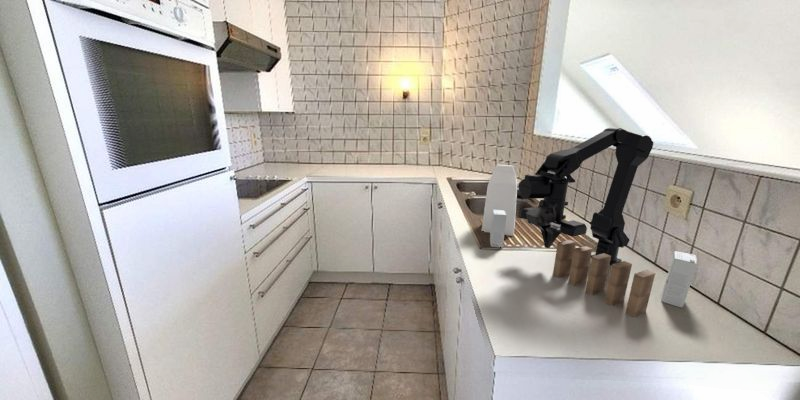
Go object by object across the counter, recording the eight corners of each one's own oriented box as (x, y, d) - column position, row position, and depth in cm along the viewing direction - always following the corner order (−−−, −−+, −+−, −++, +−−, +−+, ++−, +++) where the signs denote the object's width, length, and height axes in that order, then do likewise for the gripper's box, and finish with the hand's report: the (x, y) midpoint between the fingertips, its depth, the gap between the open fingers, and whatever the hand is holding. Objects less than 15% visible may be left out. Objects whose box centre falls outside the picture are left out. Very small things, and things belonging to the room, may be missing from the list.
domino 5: (637, 307, 76) (646, 269, 74) (645, 311, 75) (655, 272, 72) (625, 312, 74) (634, 273, 71) (633, 316, 72) (643, 277, 70)
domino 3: (597, 287, 85) (604, 253, 82) (604, 290, 83) (611, 255, 81) (585, 291, 83) (591, 256, 80) (591, 294, 81) (598, 259, 79)
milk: (481, 231, 125) (487, 166, 118) (485, 222, 135) (490, 162, 129) (513, 236, 121) (521, 168, 114) (514, 226, 131) (521, 164, 124)
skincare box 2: (661, 292, 83) (672, 249, 80) (684, 298, 80) (696, 254, 77) (660, 302, 78) (672, 257, 75) (684, 309, 76) (697, 263, 73)
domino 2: (580, 278, 89) (586, 246, 87) (586, 281, 88) (592, 248, 85) (568, 282, 87) (573, 249, 84) (574, 285, 85) (580, 251, 83)
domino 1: (564, 271, 94) (569, 239, 91) (569, 273, 92) (575, 241, 89) (552, 274, 91) (557, 242, 89) (558, 277, 90) (563, 244, 87)
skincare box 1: (503, 248, 109) (506, 215, 106) (490, 246, 110) (493, 214, 107) (501, 241, 115) (504, 210, 112) (489, 240, 116) (492, 209, 113)
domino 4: (616, 296, 80) (624, 260, 78) (623, 300, 79) (632, 264, 76) (604, 301, 78) (611, 264, 76) (611, 305, 77) (619, 267, 74)
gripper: (509, 192, 96) (504, 240, 100) (563, 209, 80) (555, 265, 84) (536, 189, 101) (530, 235, 105) (592, 204, 84) (582, 258, 88)
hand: (547, 247), depth 95 cm, fingers closed
